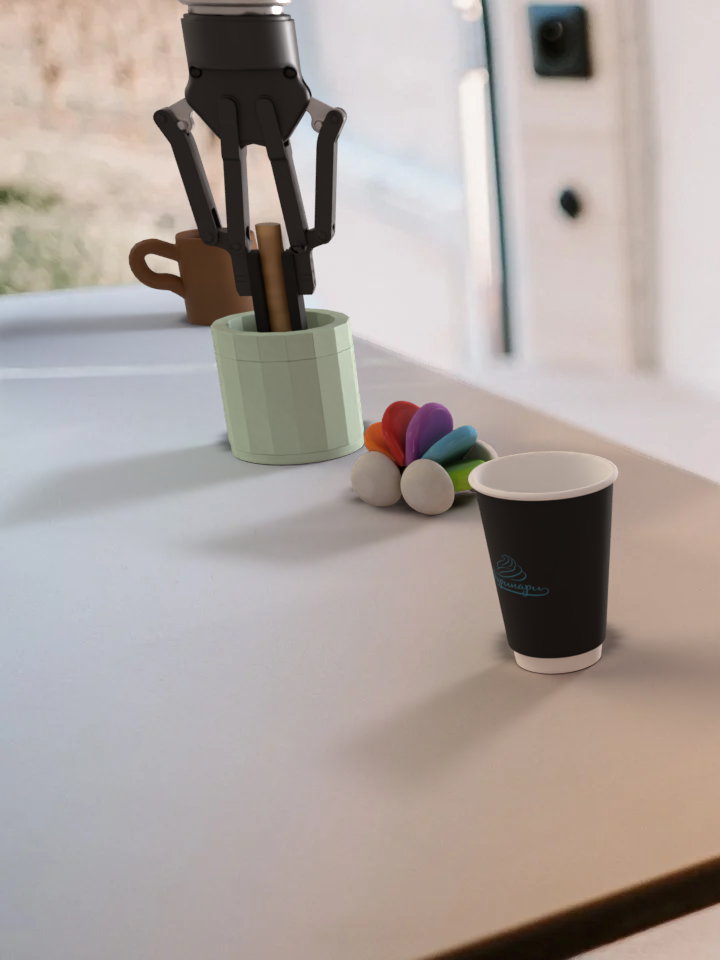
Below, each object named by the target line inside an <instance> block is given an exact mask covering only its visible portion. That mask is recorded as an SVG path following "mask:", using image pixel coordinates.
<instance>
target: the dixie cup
mask: <svg viewBox="0 0 720 960" xmlns="http://www.w3.org/2000/svg"><path fill="white" fill-rule="evenodd" d="M618 477H619V469H618V467H617V466H616V464H615V463H613V462H612V461H611V460H609V459H607V458H605V457H602V456H598V455H595V454H591V453H585V452H576V451H565V450H564V451H563V450H561V451H560V450H549V451H547V450H546V451H531V452H521V453H516V454H509V455H504V456H500V457H499V458H496V459H493V460H490V461H487V462H485V463H483V464H481V465H479V466H477V467H476V468H474V469H473V470H472V471H471V473H470V474H469V477H468V481H469V484H470V486H471V487H472V488H474V489H475V491H476V492H475V496H476V501H477V504H478V510H479V514H480V519H481V524H482V528H483V532H484V533H483V534H484V538H485V542H486V547H487V551H488V555H489V560H490V566H491V570H492V575H493V579H494V583H495V588H496V594H497V598H498V602H499V607H500V612H501V616H502V621H503V625H504V630H505V635H506V639H507V644H508V647H509V648H510V649H511V650H512V651H513V654H514V659H515V662H516V664H517V665H518V666H519V667H520V668H521V669H524V670H525V671H529V672H532V673H537V674H538V673H539V674H550V675H551V674H565V673H572V672H576V671H580V670H584V669H586V668H588V667H590V666H592V665H594V664H596V663H597V662H599V660H600V659H601V657H602V647H603V643H604V642H605V640H606V638H607V623H608V622H607V621H608V604H609V602H608V601H609V583H610V582H609V580H610V561H611V560H610V559H611V542H612V540H611V539H612V522H613V521H612V520H613V517H612V516H613V499H614V483H615V481H617V479H618Z"/></svg>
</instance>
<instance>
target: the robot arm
mask: <svg viewBox="0 0 720 960" xmlns="http://www.w3.org/2000/svg"><path fill="white" fill-rule="evenodd" d="M177 2H179V3H181V4H182V5H183V6H187V12H185V13H183V14H182V17H180V24H181V30H182V37H183V43H184V50H185V56H186V62H187V69H188V78H187V79H188V80H187V83H186V85H185V88H184V97H183V98H182V99H180V100H178V101H176V102H175V103H173V104H171V105H170V106H165V107H162V108H160V109H157V110H156V111H154V113H153V115H152V120H153V122H154V124H155V125H156V127H157V128H158V129H159V130H160V132H161V133H162V135H163V136H164V137H165V139H166V140H167V142H168V143H169V144H170V147H171V151H172V153H173V156H174V159H175V162H176V166H177V169H178V172H179V175H180V179H181V182H182V184H183V187H184V190H185V193H186V197H187V200H188V203H189V206H190V209H191V212H192V215H193V218H194V222H195V225H196V229H198V231H199V234H200V238H201V240H202V242H203V243H204V244H205V245H208V246H216V247H219V248H222V249H224V250H226V251H227V252H228V253H229V254H230V256H231V260H232V266H233V273H234V279H235V286H236V290H237V292H238V294H239V296H252V301H253V307H254V314H255V321H256V327H257V332H260V333H268V332H270V325H269V318H268V311H267V304H266V298H265V291H264V284H263V277H262V270H261V264H260V257H259V250H258V249H252V250H251V248H250V245H251V244H252V240H251V235H250V230H251V219H250V202H249V201H250V199H249V198H250V197H249V181H248V161H247V157H248V146H251V145H257V146H260V147H265V150H266V155H267V158H268V160H269V163H270V166H271V170H272V174H273V179H274V184H275V187H276V192H277V197H278V200H279V201H278V202H279V204H280V205H279V206H280V209H281V213H282V217H283V218H282V219H283V220H284V226H285V230H286V234H287V239H288V243H289V247H288V248H285V249H284V253H283V254H282V255H281V258H282V265H283V272H284V279H285V287H286V294H287V301H288V308H289V315H290V322H291V329H292V331H300V330H307V329H308V326H307V318H306V311H305V308H306V305H305V298H304V296H312V295H313V294H314V293H315V291H316V288H317V278H316V272H315V270H316V269H315V264H314V257H313V250H314V249H315V248H317V247H319V246H322V245H327V244H329V243H330V242H331V241H332V240H333V238H334V236H335V234H336V216H337V215H336V214H337V186H338V185H337V183H338V180H337V179H338V147H339V145H338V144H339V139H340V136H341V133H342V131H343V129H344V126H345V124H346V122H347V118H348V115H347V111H346V110H345V109H344V108H342V107H339V106H337V107H336V106H335V107H333V106H331V105H329V104H327V103H325V102H323V101H321V100H319V99H317V98H316V97H313V95H312V91H311V88H310V87H309V86H308V84H307V82H306V81H305V79H304V77H303V74H302V69H301V68H302V67H301V59H300V54H299V53H300V52H299V46H298V38H297V30H296V22H295V18H292V16H291V14H288V13H285V7H288V6H290V4H292V2H293V0H177ZM306 112H307V113H308V114H309V115H310V119H311V122H310V125H311V126H310V127H311V128H312V130H313V131H314V132H316V133H318V135H317V139H316V145H315V146H316V147H315V179H314V180H315V181H314V187H315V188H314V221H313V222H314V224H313V225H314V227H312V228H309V223H308V219H307V214H306V211H305V206H304V201H303V197H302V193H301V188H300V185H299V184H300V183H299V180H298V175H297V170H296V167H295V162H294V158H293V149H292V143H291V139H290V138H291V137H292V135H293V134H294V133H295V131H296V129H297V127H298V125H299V124H300V122H301V121H302V119H303V117H304V116H305V114H306ZM194 113H195V114H196V115H197V116H198V117H199V119H200V120H201V121H202V122H203V123H204V124H205V125H206V126H207V127H208V129H210V131H212V133H213V134H214V135H215V136H216V137H217V138H218V139H219V141H220V142H219V143H220V156H221V160H222V165H223V166H222V168H223V183H224V184H223V185H224V202H225V203H224V204H225V218H226V227H227V229H224V228H223V227H224V226H223V224H222V222H221V221H222V220H221V218H220V214H219V211H218V208H217V205H216V201H215V199H214V196H213V192H212V189H211V185H210V183H209V179H208V177H207V174H206V170H205V167H204V163H203V160H202V157H201V153H200V151H199V148H198V145H197V142H196V139H195V137H194V135H193V133H192V131H193V130H194V128H195V126H196V125H195V121H194V118H193V117H194V116H193V114H194Z"/></svg>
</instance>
